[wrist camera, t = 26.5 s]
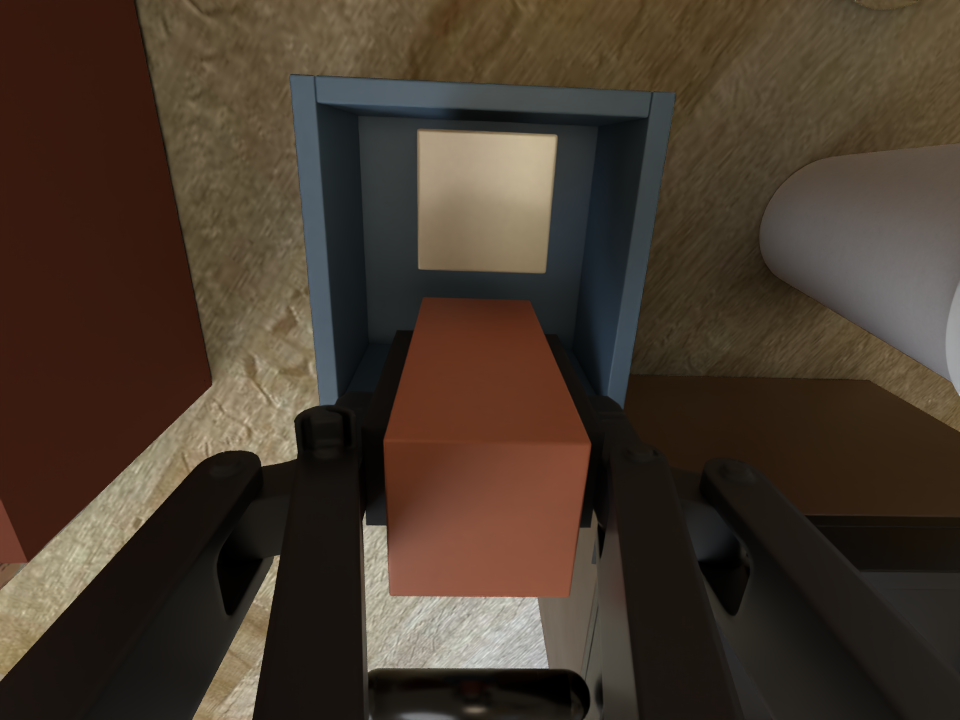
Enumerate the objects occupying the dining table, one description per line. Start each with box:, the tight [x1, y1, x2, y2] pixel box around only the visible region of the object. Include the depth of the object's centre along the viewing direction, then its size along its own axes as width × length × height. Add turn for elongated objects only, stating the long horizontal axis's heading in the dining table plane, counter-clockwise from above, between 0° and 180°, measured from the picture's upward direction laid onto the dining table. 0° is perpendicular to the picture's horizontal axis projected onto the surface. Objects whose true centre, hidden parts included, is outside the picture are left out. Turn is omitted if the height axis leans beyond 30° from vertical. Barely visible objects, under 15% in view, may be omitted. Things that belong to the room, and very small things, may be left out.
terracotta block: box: [383, 297, 591, 597], centre depth 15 cm, size 4×4×10 cm
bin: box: [290, 74, 676, 409], centre depth 22 cm, size 13×13×8 cm
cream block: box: [417, 128, 558, 274], centre depth 20 cm, size 4×4×10 cm
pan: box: [368, 374, 960, 720], centre depth 25 cm, size 28×15×15 cm, turn 88°
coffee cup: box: [759, 143, 960, 396], centre depth 19 cm, size 10×10×15 cm
